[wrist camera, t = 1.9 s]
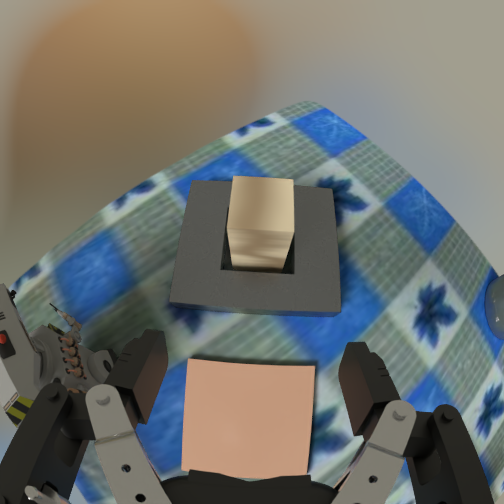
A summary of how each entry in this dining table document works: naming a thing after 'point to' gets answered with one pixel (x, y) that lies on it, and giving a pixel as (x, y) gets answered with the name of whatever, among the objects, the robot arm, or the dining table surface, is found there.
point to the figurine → (43, 359)
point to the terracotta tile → (247, 419)
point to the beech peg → (260, 223)
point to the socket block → (255, 283)
